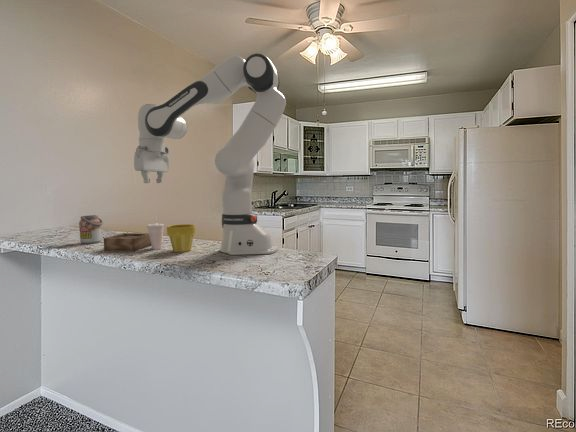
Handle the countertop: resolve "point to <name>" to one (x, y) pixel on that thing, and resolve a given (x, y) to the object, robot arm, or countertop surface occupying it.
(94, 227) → the decorated jar
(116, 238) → the box
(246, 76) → the robot arm
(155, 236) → the smoothie
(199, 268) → the countertop surface
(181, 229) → the plant pot
